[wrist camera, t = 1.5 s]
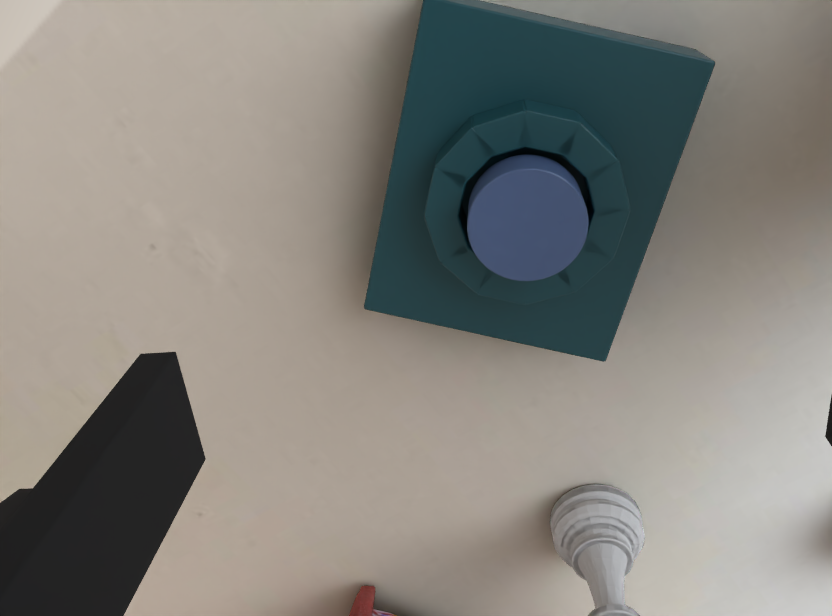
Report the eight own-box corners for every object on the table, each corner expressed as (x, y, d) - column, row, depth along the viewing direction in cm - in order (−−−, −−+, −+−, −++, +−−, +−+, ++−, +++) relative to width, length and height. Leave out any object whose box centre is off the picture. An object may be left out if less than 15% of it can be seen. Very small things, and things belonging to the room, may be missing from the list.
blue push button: (483, 142, 26) (482, 156, 25) (597, 168, 26) (604, 183, 25) (457, 248, 28) (455, 268, 27) (564, 272, 28) (568, 293, 27)
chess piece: (532, 506, 38) (545, 684, 29) (611, 468, 37) (650, 643, 28) (578, 563, 40) (604, 749, 31) (656, 529, 38) (707, 713, 29)
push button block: (429, -12, 28) (419, 0, 24) (697, 49, 28) (731, 71, 24) (372, 281, 34) (356, 331, 30) (597, 331, 34) (611, 386, 30)
